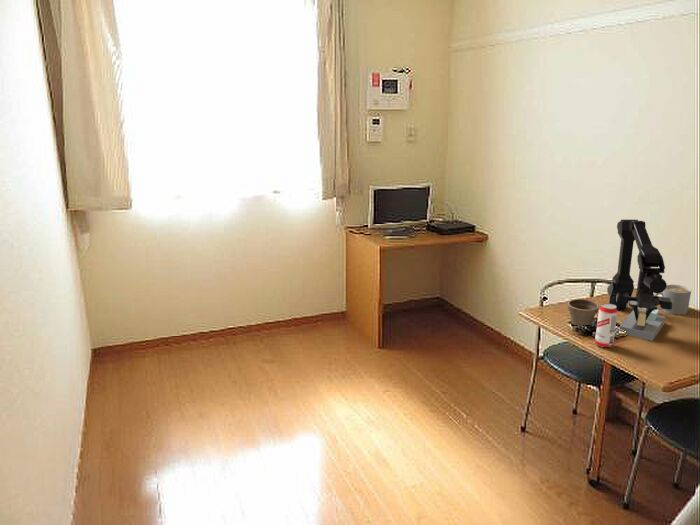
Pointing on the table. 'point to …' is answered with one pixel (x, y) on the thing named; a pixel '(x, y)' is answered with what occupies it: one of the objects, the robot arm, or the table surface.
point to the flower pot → (582, 311)
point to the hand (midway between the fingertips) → (640, 321)
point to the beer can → (606, 325)
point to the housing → (642, 327)
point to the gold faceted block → (641, 316)
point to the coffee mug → (677, 298)
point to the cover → (653, 315)
